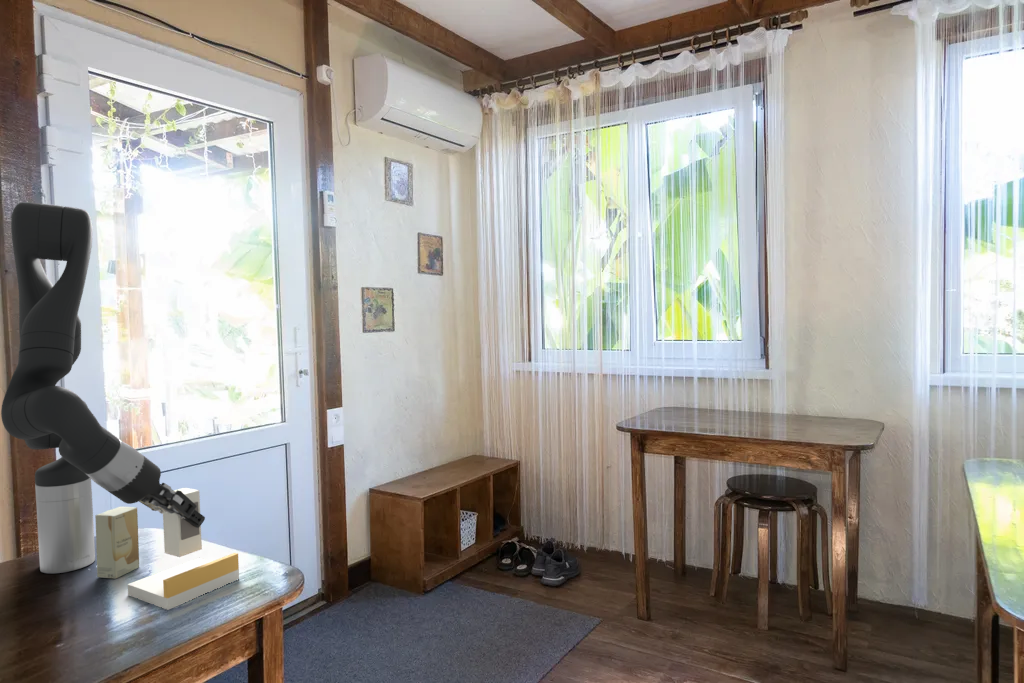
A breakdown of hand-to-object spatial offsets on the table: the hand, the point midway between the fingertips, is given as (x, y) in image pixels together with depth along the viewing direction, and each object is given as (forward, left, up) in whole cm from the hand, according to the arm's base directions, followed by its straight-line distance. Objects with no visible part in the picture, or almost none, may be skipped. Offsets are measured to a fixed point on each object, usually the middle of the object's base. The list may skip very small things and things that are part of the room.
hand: (191, 520), depth 121 cm
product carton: (0, -2, -5) cm, 6 cm away
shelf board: (0, -2, -12) cm, 12 cm away
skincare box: (-18, -4, -12) cm, 22 cm away
